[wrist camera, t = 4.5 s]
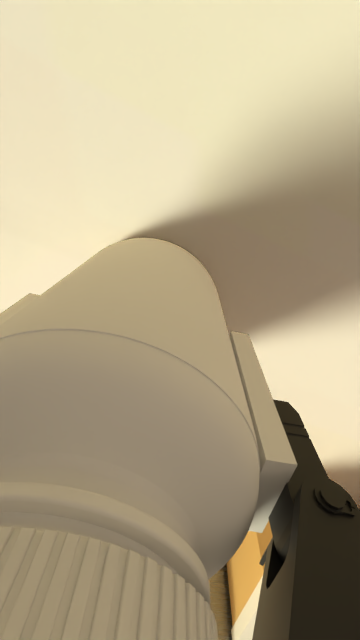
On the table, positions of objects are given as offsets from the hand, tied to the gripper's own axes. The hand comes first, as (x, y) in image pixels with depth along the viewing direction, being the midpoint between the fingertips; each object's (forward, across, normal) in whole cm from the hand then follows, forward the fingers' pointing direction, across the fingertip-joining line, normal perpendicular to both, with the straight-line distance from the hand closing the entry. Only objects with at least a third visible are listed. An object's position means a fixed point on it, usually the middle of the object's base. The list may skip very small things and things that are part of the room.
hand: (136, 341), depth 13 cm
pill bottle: (+4, 0, 0) cm, 4 cm away
